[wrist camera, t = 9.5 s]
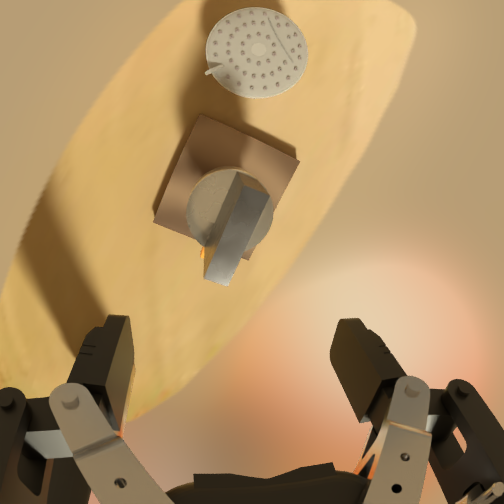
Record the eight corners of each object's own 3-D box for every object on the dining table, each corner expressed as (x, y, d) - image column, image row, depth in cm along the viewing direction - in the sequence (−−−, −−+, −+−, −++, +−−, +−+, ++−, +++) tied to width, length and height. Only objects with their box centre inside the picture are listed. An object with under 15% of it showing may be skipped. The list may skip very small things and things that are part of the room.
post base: (246, 255, 39) (255, 285, 32) (154, 218, 36) (142, 242, 29) (296, 159, 35) (317, 169, 28) (200, 114, 32) (197, 112, 25)
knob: (280, 184, 28) (307, 210, 21) (243, 264, 31) (254, 311, 23) (206, 153, 26) (204, 167, 19) (172, 238, 29) (161, 281, 21)
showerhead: (181, 31, 22) (281, -9, 21) (186, 48, 29) (268, 13, 28) (230, 118, 26) (328, 74, 25) (226, 118, 32) (306, 81, 32)
